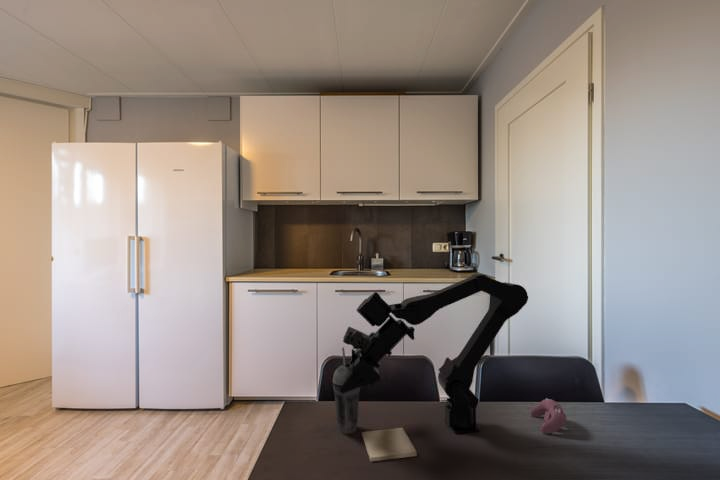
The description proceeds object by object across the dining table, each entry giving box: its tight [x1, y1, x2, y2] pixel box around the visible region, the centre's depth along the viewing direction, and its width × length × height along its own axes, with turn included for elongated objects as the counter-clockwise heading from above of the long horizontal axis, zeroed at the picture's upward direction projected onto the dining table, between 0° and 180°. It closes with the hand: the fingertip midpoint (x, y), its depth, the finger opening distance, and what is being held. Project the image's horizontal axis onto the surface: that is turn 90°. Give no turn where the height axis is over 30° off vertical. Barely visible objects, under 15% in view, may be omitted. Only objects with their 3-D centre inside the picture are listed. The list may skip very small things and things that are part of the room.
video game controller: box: [529, 397, 567, 435], centre depth 83 cm, size 10×5×7 cm, turn 169°
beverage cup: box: [332, 346, 361, 435], centre depth 83 cm, size 7×7×20 cm
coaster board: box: [361, 427, 418, 462], centre depth 75 cm, size 10×10×1 cm
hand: (341, 385), depth 83 cm, fingers closed on beverage cup, 7 cm apart
